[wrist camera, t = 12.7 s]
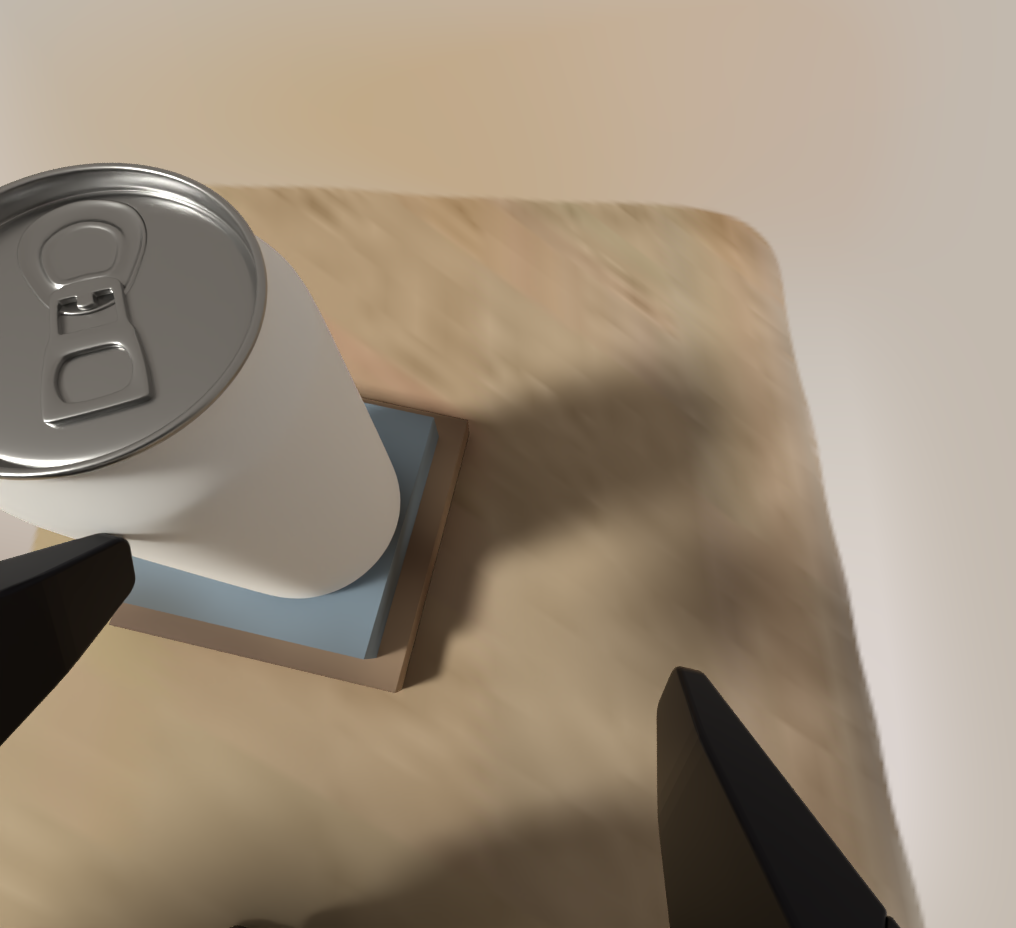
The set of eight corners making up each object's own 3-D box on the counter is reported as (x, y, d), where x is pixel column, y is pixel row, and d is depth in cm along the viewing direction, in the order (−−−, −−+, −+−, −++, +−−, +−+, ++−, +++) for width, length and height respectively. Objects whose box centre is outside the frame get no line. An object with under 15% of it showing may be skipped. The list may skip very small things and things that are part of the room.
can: (377, 406, 21) (252, 110, 10) (424, 565, 19) (336, 427, 8) (206, 455, 20) (-159, 188, 9) (236, 627, 18) (-188, 578, 7)
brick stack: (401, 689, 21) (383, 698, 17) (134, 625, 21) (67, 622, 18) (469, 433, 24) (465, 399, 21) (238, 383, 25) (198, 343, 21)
